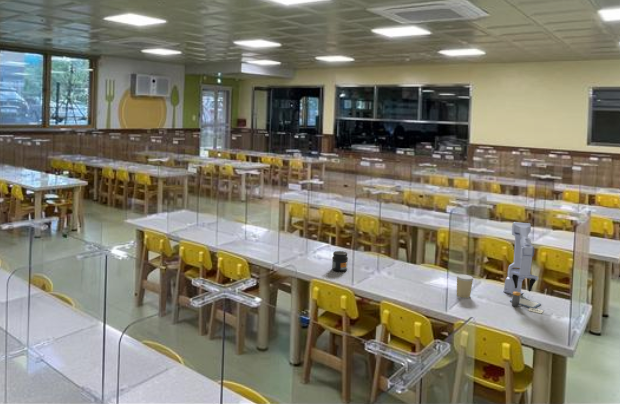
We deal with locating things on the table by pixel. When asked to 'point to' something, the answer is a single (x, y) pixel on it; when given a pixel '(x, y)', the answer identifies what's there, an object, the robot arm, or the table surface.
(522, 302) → the clipboard
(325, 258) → the table surface
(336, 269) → the supplement container
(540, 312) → the word card
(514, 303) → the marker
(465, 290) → the coffee cup
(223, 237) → the table surface
